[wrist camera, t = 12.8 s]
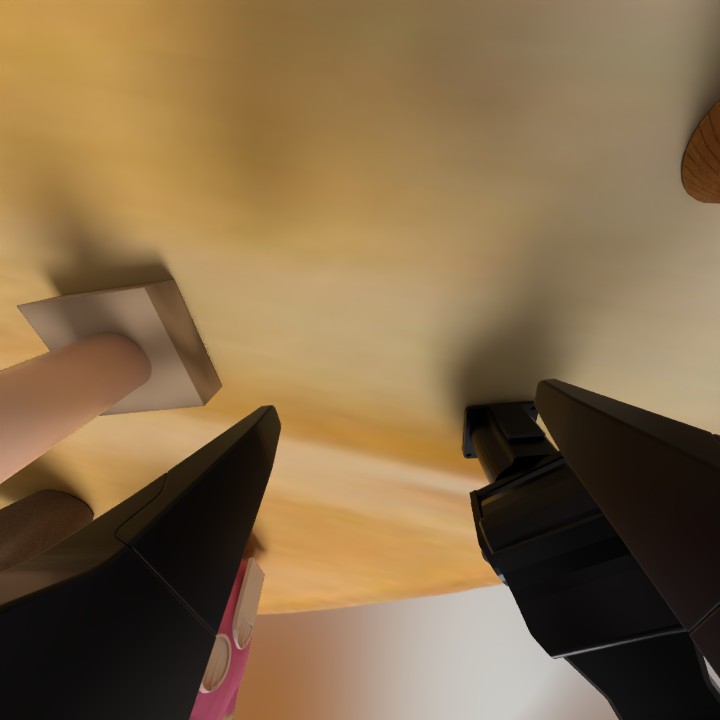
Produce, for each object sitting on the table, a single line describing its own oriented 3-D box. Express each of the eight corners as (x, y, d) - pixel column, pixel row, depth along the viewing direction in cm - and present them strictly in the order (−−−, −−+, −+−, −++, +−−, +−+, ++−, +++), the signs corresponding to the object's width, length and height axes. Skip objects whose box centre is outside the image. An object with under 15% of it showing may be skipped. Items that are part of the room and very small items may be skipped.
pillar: (162, 363, 20) (-112, 543, 9) (134, 396, 22) (-132, 588, 10) (101, 319, 19) (-334, 465, 7) (75, 358, 20) (-318, 533, 9)
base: (222, 386, 25) (204, 405, 22) (127, 396, 26) (98, 416, 23) (173, 279, 20) (143, 287, 17) (60, 295, 21) (16, 305, 18)
